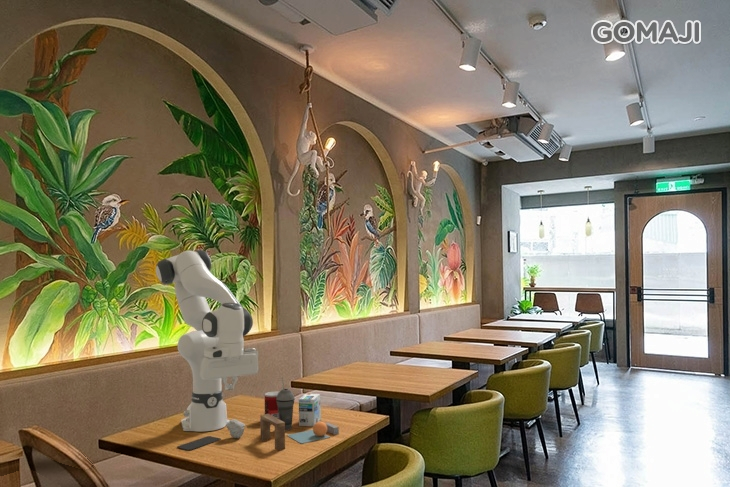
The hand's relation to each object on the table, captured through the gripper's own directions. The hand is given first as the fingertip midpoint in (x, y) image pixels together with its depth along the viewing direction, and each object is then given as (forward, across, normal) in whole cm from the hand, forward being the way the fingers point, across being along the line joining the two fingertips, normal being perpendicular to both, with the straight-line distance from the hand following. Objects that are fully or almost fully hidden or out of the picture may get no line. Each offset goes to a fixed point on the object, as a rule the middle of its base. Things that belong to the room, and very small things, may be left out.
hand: (229, 389), depth 185 cm
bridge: (+21, -15, +3) cm, 26 cm away
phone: (+22, +6, -14) cm, 27 cm away
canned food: (+22, -30, -25) cm, 45 cm away
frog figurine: (+22, -8, -12) cm, 26 cm away
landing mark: (+20, -30, +4) cm, 36 cm away
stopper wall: (+20, -40, +4) cm, 45 cm away
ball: (+18, -34, +6) cm, 38 cm away
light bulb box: (+21, -40, -12) cm, 47 cm away
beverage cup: (+21, -28, -10) cm, 36 cm away
